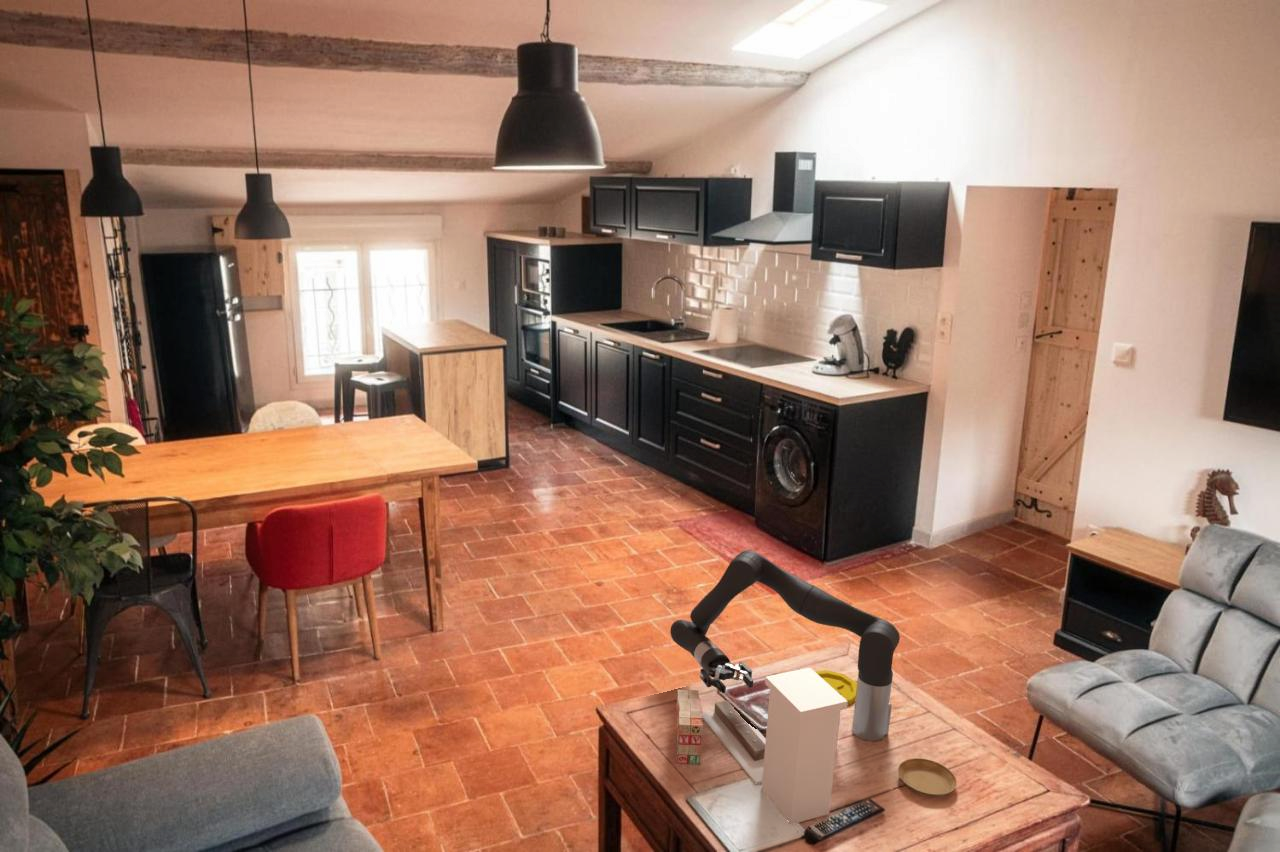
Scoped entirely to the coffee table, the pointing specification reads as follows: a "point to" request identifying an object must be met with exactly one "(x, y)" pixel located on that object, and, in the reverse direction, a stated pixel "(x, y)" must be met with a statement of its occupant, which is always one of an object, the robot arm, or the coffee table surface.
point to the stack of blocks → (689, 727)
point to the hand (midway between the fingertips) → (738, 687)
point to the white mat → (736, 746)
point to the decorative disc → (840, 684)
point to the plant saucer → (927, 777)
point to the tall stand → (801, 743)
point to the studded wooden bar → (740, 730)
